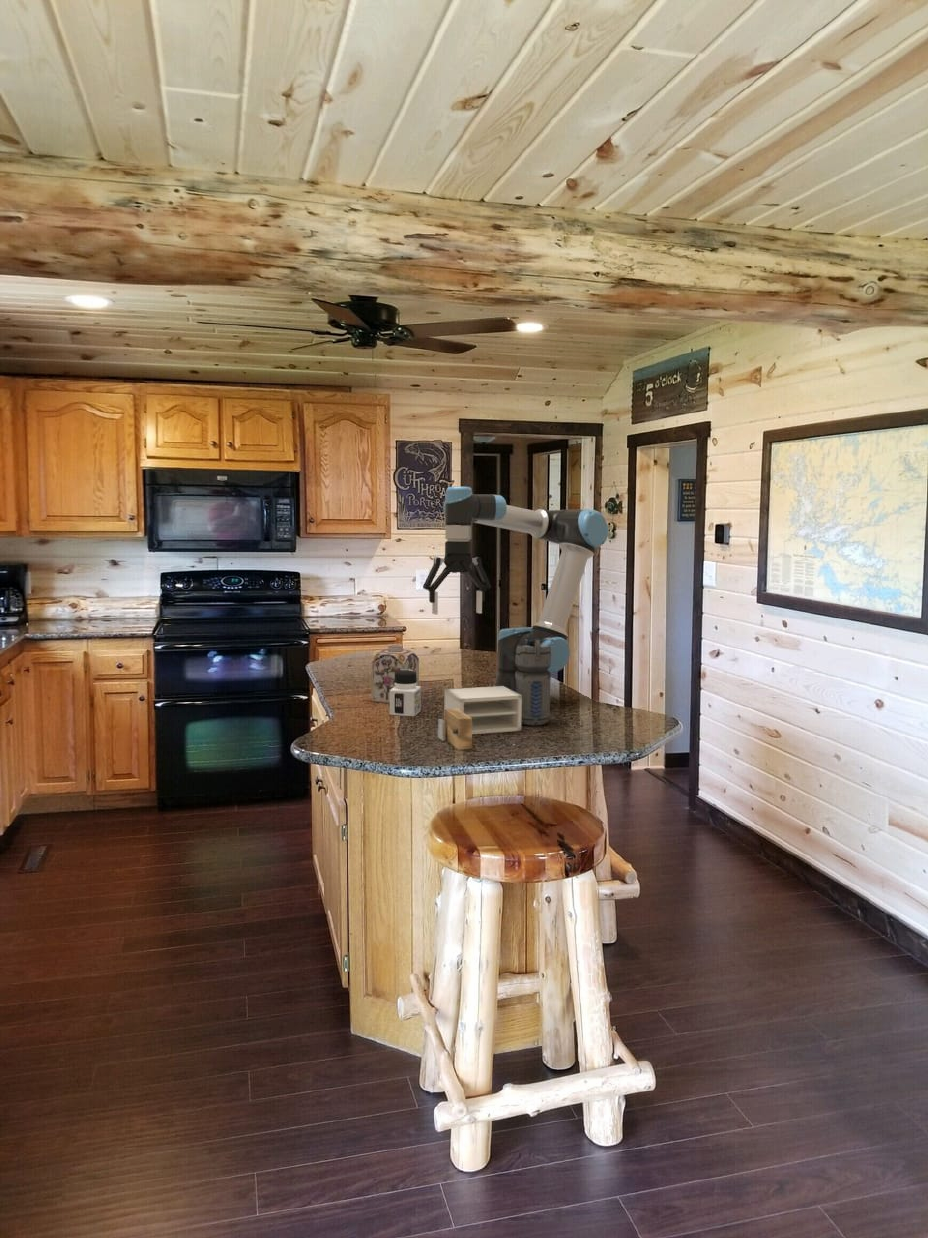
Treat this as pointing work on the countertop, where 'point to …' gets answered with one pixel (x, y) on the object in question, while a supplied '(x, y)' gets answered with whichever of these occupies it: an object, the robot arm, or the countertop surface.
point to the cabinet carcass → (487, 707)
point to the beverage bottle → (533, 681)
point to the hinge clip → (441, 729)
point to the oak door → (458, 729)
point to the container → (405, 694)
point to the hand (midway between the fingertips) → (457, 613)
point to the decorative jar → (391, 670)
